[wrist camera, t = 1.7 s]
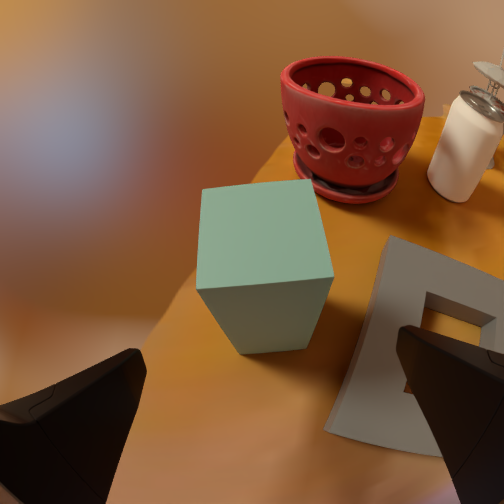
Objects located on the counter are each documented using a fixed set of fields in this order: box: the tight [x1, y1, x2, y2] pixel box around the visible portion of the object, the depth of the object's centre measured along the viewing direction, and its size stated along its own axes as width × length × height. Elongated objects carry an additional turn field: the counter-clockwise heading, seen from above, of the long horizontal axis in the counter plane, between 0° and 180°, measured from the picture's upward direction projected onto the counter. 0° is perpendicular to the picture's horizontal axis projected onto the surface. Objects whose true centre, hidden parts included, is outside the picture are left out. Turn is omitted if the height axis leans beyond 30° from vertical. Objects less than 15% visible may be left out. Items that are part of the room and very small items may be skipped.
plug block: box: [196, 179, 334, 354], centre depth 16 cm, size 5×5×12 cm
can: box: [427, 90, 504, 203], centre depth 22 cm, size 6×6×12 cm
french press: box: [469, 50, 504, 169], centre depth 21 cm, size 10×12×25 cm
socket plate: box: [323, 235, 504, 457], centre depth 17 cm, size 16×16×2 cm
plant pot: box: [280, 56, 425, 204], centre depth 24 cm, size 13×13×12 cm
